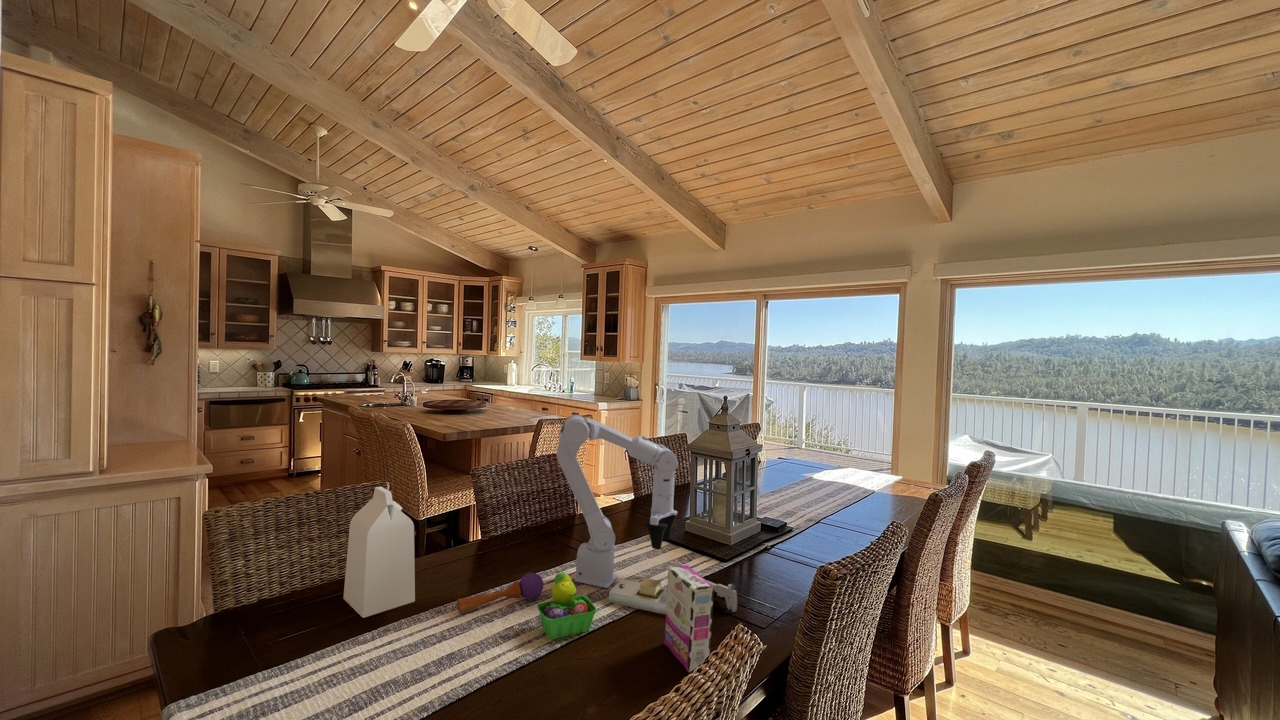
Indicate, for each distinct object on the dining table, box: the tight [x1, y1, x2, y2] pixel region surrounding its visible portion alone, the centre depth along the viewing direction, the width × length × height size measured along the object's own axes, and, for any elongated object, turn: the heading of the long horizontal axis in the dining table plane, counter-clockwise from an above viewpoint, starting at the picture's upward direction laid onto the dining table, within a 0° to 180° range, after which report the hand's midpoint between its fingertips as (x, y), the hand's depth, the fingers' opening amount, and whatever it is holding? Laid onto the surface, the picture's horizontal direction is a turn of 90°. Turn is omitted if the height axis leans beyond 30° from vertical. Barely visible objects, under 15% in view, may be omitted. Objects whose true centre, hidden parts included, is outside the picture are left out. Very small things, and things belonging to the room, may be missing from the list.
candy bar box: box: [664, 564, 715, 673], centre depth 109 cm, size 11×5×16 cm, turn 23°
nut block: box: [639, 577, 662, 599], centre depth 130 cm, size 4×4×5 cm
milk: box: [343, 486, 416, 619], centre depth 125 cm, size 12×12×26 cm
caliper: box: [705, 579, 738, 613], centre depth 136 cm, size 20×1×6 cm, turn 27°
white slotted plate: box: [608, 578, 667, 616], centre depth 130 cm, size 18×8×3 cm, turn 70°
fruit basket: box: [537, 571, 598, 640], centre depth 117 cm, size 11×9×11 cm
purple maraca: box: [456, 572, 544, 615], centre depth 126 cm, size 6×6×20 cm
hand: (660, 543), depth 144 cm, fingers open, 7 cm apart
